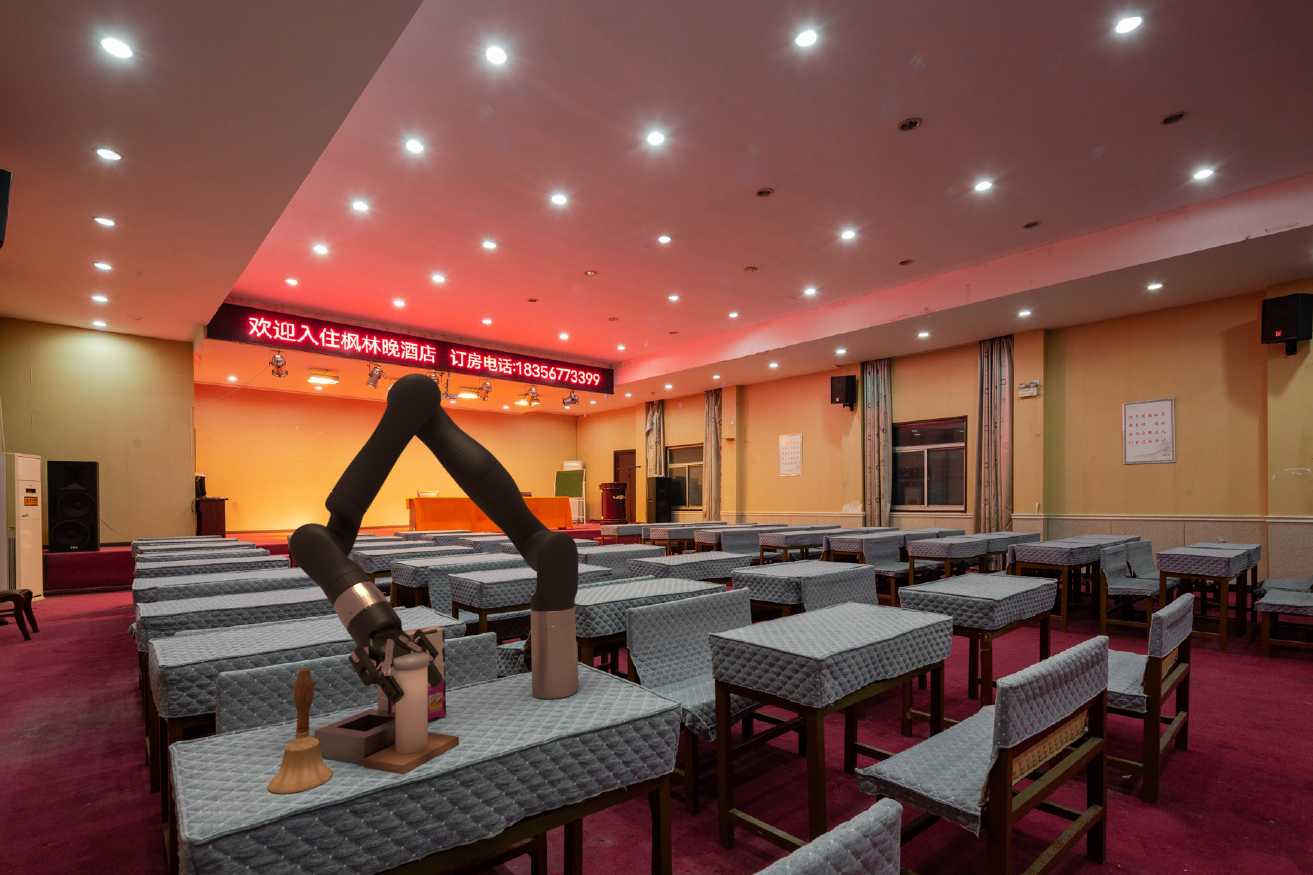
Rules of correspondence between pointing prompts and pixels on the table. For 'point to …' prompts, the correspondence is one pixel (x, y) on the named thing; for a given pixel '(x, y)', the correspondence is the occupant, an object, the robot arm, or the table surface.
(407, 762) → the board
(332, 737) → the housing
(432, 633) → the candy bar box
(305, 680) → the hand bell
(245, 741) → the table surface
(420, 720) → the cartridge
